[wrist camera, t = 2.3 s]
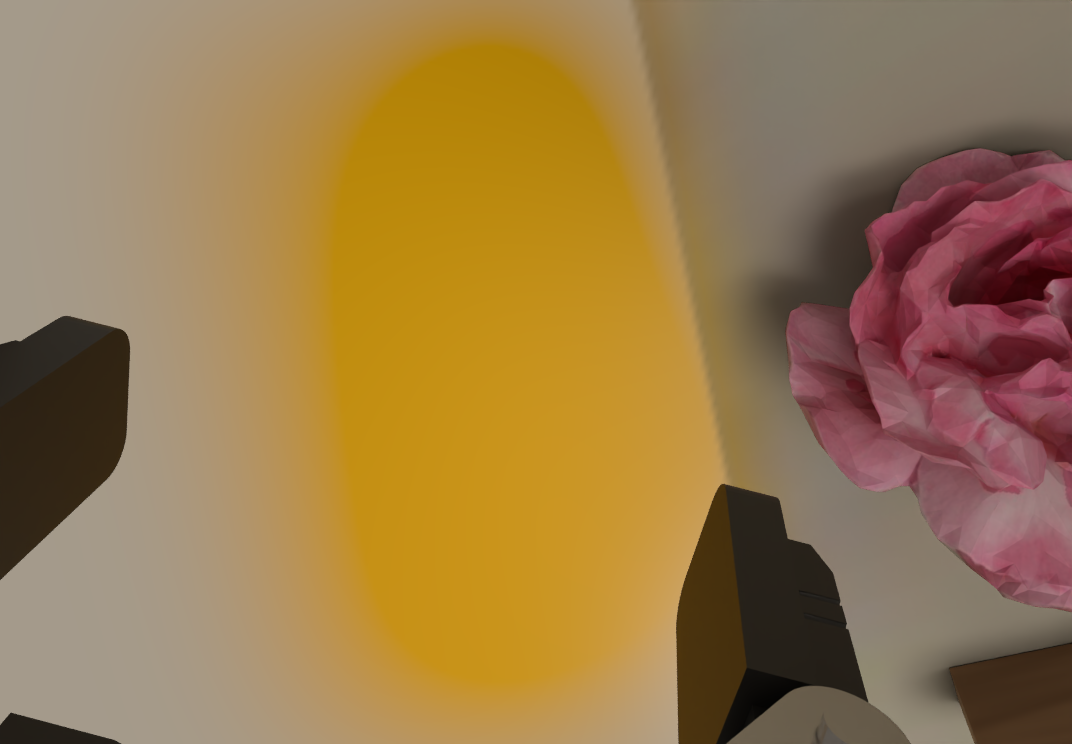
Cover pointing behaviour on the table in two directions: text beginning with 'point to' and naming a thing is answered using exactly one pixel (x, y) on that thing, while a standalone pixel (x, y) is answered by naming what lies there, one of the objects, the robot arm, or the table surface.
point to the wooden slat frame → (1018, 697)
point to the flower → (960, 365)
